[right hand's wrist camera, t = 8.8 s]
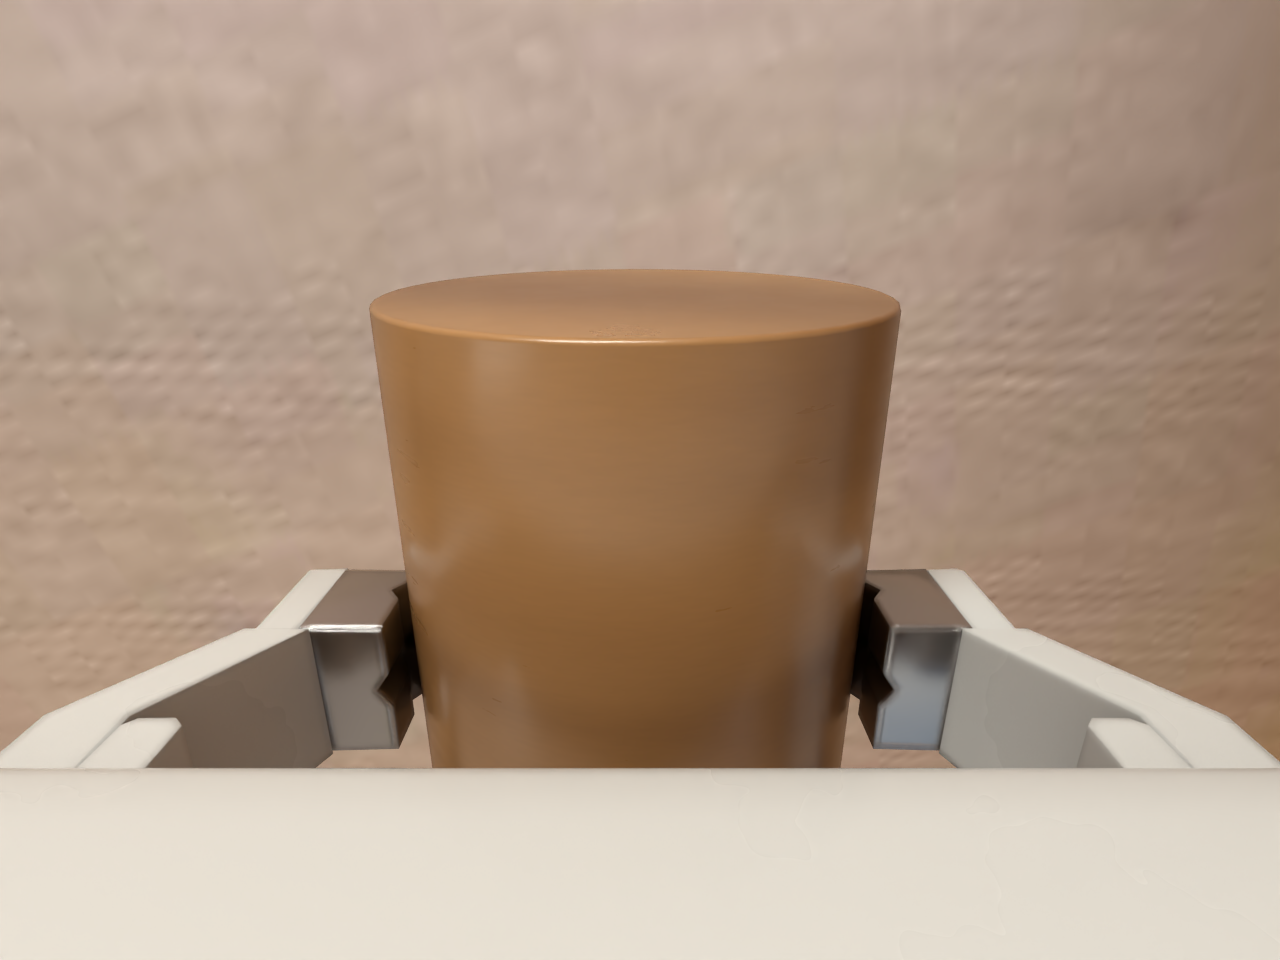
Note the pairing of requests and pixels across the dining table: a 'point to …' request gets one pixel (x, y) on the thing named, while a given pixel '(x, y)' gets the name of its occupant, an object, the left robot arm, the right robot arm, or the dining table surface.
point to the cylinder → (635, 511)
